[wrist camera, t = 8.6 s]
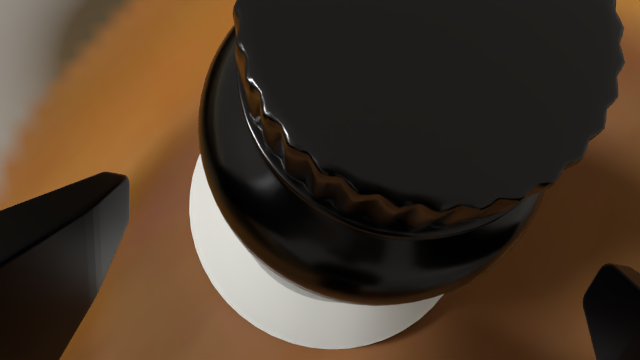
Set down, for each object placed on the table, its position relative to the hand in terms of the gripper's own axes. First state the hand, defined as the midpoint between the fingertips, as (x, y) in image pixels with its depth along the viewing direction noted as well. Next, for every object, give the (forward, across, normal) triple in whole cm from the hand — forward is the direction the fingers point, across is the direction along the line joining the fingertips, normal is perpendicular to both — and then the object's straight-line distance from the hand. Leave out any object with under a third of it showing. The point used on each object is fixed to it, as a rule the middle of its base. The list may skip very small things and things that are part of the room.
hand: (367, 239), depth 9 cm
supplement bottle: (+7, 0, +4) cm, 8 cm away
